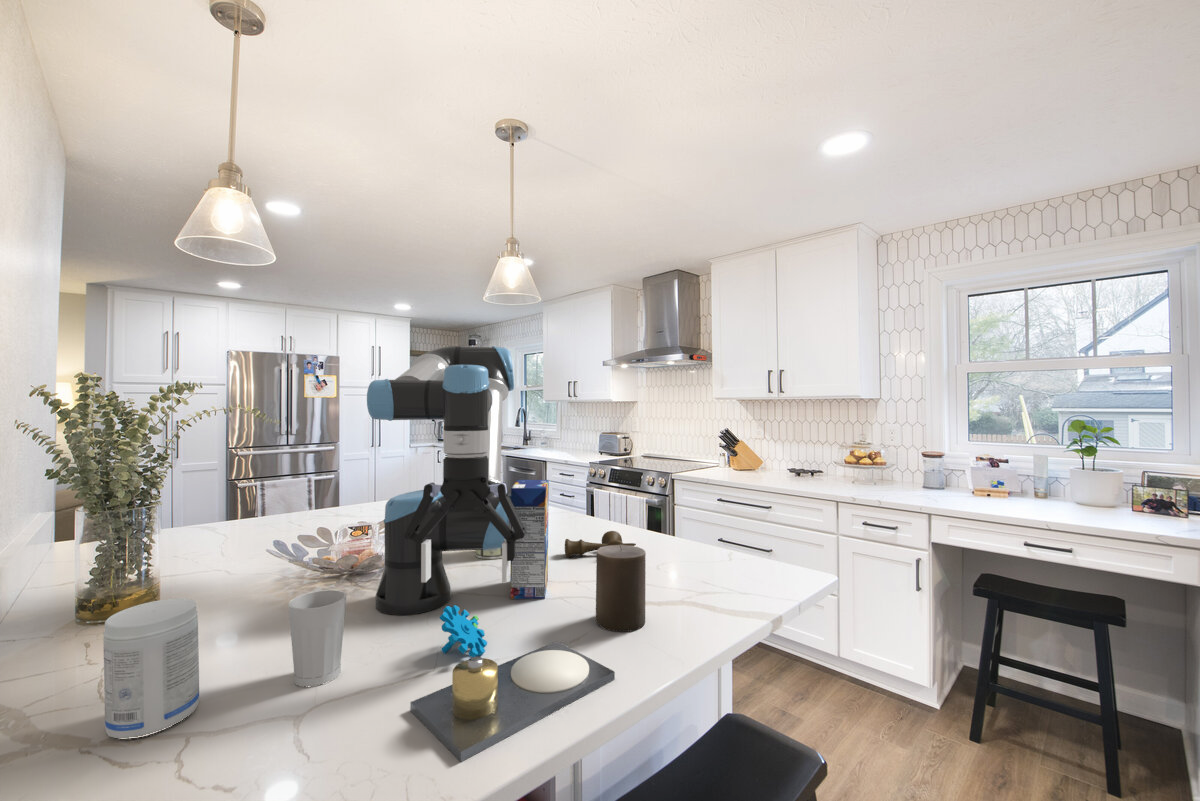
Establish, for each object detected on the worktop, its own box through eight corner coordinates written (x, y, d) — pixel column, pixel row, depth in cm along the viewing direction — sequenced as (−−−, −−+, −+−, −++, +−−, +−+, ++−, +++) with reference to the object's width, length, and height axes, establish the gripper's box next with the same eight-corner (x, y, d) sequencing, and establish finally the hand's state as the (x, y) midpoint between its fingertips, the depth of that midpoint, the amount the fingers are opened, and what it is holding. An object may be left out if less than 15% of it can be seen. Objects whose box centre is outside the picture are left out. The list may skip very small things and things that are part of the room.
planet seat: (504, 693, 73) (504, 690, 73) (517, 651, 85) (517, 650, 85) (588, 693, 73) (588, 690, 73) (589, 651, 85) (589, 650, 85)
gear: (475, 660, 81) (436, 610, 83) (448, 686, 81) (410, 636, 83) (499, 638, 92) (464, 595, 94) (476, 661, 92) (441, 617, 94)
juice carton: (516, 580, 122) (517, 479, 122) (547, 579, 123) (548, 479, 123) (510, 599, 110) (511, 488, 110) (544, 599, 111) (545, 488, 111)
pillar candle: (632, 636, 93) (633, 553, 93) (586, 625, 98) (586, 546, 98) (653, 617, 101) (654, 541, 101) (610, 607, 106) (610, 535, 106)
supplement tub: (192, 691, 75) (192, 591, 75) (205, 718, 69) (205, 609, 69) (100, 721, 68) (101, 611, 68) (105, 755, 62) (106, 633, 62)
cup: (333, 658, 85) (333, 586, 85) (355, 674, 80) (355, 597, 80) (279, 678, 79) (279, 600, 79) (300, 696, 74) (300, 613, 74)
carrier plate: (460, 762, 60) (460, 699, 60) (410, 710, 70) (410, 657, 71) (614, 679, 78) (614, 631, 78) (557, 647, 89) (556, 605, 89)
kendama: (564, 553, 146) (633, 549, 148) (565, 565, 137) (639, 560, 138) (563, 532, 146) (633, 529, 148) (564, 542, 136) (638, 538, 138)
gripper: (384, 457, 84) (383, 587, 83) (536, 457, 84) (536, 587, 83) (402, 453, 91) (401, 572, 91) (541, 453, 91) (541, 572, 91)
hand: (465, 580), depth 87 cm, fingers open, 13 cm apart
